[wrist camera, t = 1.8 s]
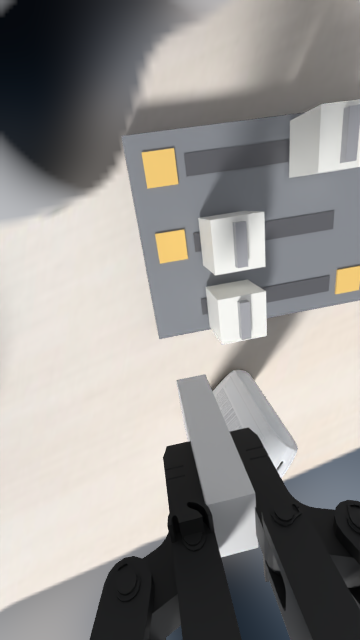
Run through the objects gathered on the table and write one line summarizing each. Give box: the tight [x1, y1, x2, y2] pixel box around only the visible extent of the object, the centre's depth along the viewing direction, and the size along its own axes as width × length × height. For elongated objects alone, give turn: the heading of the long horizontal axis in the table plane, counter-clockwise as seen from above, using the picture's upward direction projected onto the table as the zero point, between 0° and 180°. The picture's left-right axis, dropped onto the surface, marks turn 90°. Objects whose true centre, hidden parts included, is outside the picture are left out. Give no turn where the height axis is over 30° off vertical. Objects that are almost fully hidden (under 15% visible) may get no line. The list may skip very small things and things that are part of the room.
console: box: [122, 112, 360, 339], centre depth 27 cm, size 22×17×3 cm
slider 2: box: [289, 99, 360, 178], centre depth 21 cm, size 4×4×5 cm
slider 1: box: [206, 279, 267, 345], centre depth 25 cm, size 4×4×5 cm
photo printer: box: [212, 370, 298, 478], centre depth 30 cm, size 10×4×12 cm, turn 143°
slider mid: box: [198, 211, 265, 275], centre depth 23 cm, size 4×4×5 cm
